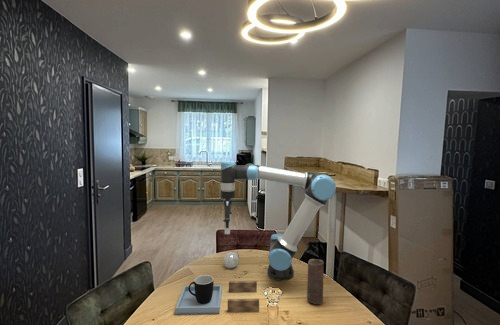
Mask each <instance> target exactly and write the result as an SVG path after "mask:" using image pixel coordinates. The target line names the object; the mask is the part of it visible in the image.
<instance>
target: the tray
mask: <svg viewBox="0 0 500 325" xmlns="http://www.w3.org/2000/svg"><path fill="white" fill-rule="evenodd" d="M188 288H189V285H184V286H183V288H182V289H181V290H182V291H181V293H180V295H179V298H178V301H177V303H176V305H175V316H182V315H184V316H187V315H188V314H189V315H191V314H192V315H220V313H221V304H222V303H221V302H222V294H223V285H222V284H217V285H215V284H214V285H213V294H212V299H211V301H210V302H209V303H206V304H200V303H198V302H197V300H196V297H195V296H193V295H192V294H190V292H189V289H188ZM190 290H191V292H192V293H194V294H195V288H194V285H191V286H190ZM189 315H188V316H189Z"/></svg>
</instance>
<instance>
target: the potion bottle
mask: <svg viewBox="0 0 500 325" xmlns="http://www.w3.org/2000/svg"><path fill="white" fill-rule="evenodd" d="M239 259H240V255H239V252H238V251H234V250H233V251H232V250H231V251H228V252H227V253H225V254H224V255H223V259H222V261H223V265H224V266H225V267H226V268H227V269H234V268H235V267H237V266H238V264H239V262H240V260H239Z"/></svg>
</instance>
